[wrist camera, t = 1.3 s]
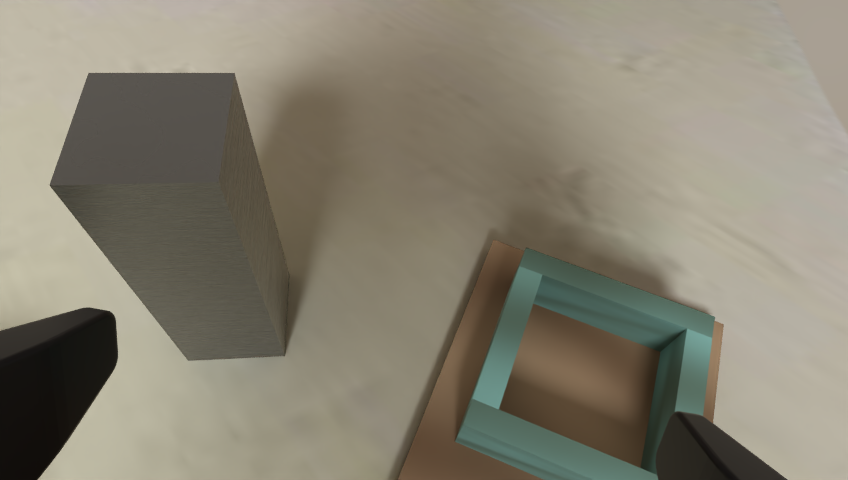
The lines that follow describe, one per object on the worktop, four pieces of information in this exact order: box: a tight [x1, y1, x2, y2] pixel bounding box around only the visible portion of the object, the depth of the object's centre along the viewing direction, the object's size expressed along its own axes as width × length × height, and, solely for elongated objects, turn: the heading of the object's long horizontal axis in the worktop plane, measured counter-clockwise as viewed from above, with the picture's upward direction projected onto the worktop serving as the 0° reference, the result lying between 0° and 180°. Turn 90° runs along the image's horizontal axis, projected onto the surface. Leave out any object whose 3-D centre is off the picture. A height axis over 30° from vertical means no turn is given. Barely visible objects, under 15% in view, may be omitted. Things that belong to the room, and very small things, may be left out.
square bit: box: [50, 73, 289, 361], centre depth 20 cm, size 4×4×12 cm
